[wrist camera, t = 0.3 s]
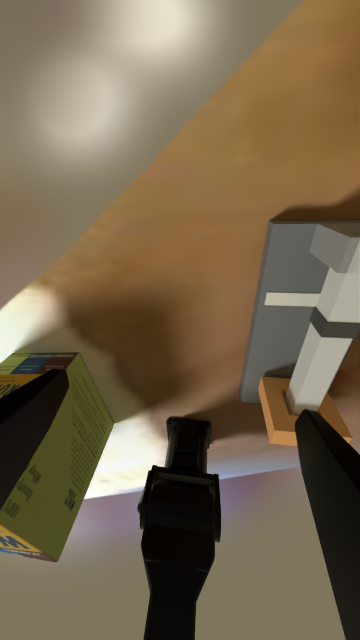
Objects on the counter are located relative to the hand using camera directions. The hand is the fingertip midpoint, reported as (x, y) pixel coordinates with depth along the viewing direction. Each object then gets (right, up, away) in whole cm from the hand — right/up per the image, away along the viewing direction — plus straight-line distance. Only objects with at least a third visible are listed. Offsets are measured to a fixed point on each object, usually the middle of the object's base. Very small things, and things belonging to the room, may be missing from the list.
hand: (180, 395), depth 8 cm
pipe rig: (+12, +2, +14) cm, 18 cm away
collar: (+12, -4, +15) cm, 20 cm away
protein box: (-17, -8, +24) cm, 30 cm away
